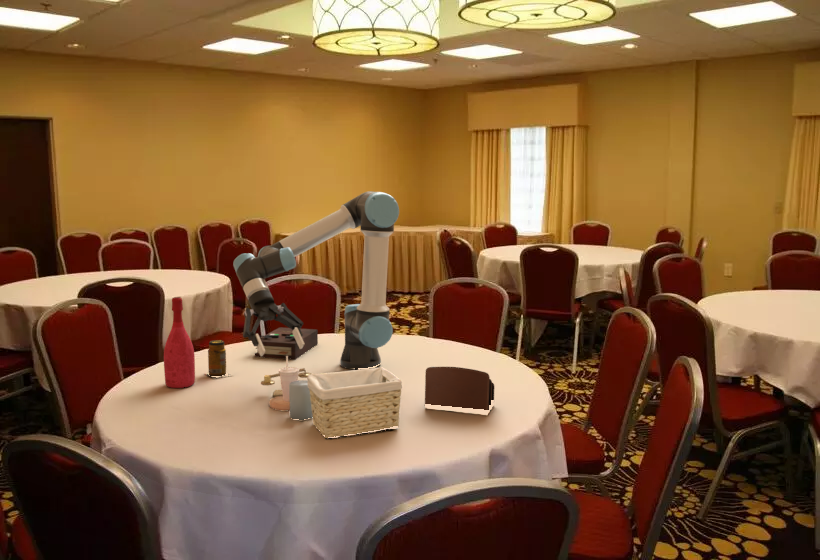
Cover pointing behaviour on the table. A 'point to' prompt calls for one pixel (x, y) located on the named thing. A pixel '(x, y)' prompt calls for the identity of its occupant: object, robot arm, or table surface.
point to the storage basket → (354, 401)
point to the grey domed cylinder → (300, 400)
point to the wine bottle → (178, 352)
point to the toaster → (458, 387)
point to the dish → (279, 403)
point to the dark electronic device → (287, 343)
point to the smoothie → (287, 378)
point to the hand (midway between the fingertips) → (283, 350)
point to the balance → (268, 377)
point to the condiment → (217, 359)
